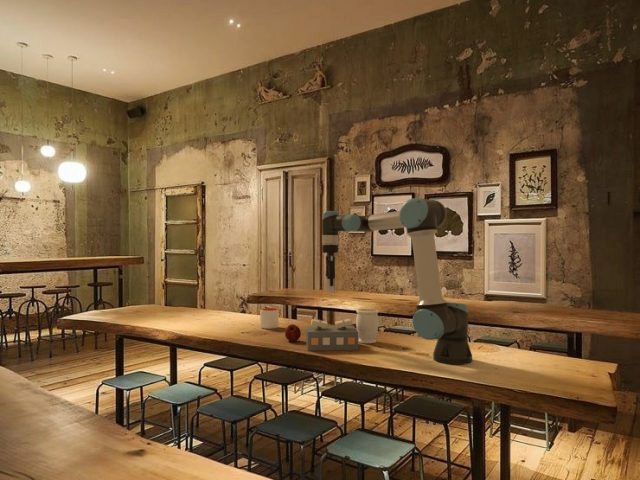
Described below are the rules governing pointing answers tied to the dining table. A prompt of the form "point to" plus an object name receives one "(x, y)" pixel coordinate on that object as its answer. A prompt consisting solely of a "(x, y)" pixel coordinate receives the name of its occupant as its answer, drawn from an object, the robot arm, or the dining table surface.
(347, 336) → the console
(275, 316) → the cup
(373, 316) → the jar
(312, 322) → the switch
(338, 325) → the switch
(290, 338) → the apple
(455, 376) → the dining table surface
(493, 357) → the dining table surface
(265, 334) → the dining table surface
